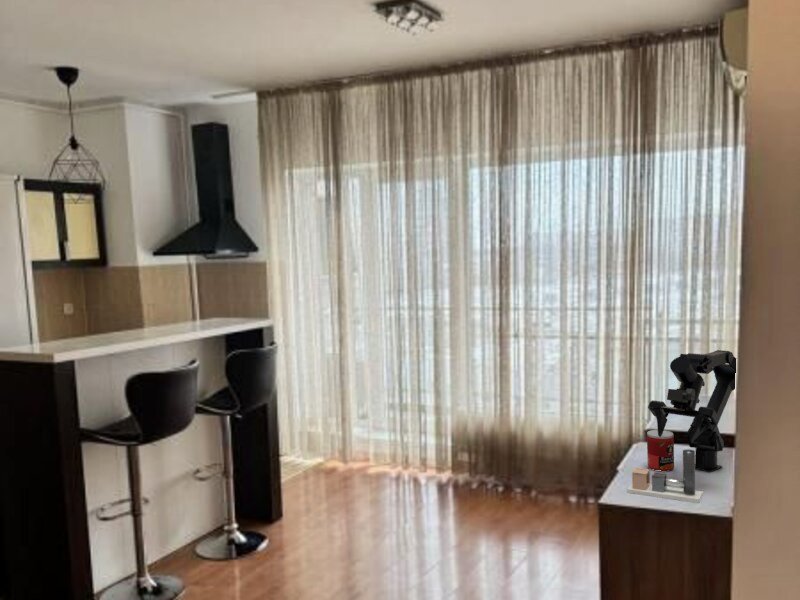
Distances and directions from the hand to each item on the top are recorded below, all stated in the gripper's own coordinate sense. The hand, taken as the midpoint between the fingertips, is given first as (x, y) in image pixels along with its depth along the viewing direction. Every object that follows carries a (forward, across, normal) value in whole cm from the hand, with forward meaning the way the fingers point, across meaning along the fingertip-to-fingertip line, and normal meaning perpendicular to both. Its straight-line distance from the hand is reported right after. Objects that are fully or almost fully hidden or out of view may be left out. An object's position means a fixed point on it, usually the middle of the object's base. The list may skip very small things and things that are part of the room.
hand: (674, 438), depth 200 cm
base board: (+15, 0, +5) cm, 16 cm away
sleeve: (+14, -2, +4) cm, 15 cm away
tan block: (+15, -7, +3) cm, 17 cm away
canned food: (+2, -11, +20) cm, 23 cm away
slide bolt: (+13, +2, +4) cm, 14 cm away
